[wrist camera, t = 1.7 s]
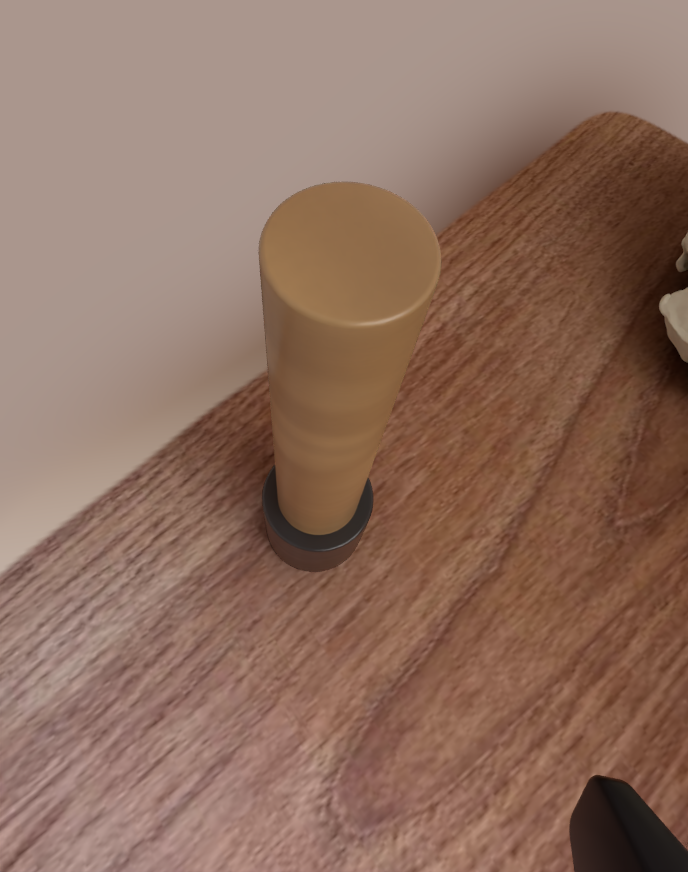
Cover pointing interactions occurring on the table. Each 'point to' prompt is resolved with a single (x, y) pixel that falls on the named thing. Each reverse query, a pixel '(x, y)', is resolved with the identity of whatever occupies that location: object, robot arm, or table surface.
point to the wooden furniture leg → (336, 355)
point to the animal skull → (678, 309)
